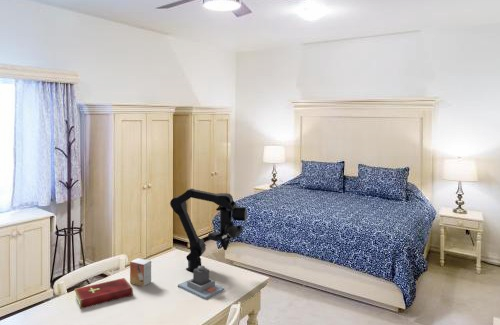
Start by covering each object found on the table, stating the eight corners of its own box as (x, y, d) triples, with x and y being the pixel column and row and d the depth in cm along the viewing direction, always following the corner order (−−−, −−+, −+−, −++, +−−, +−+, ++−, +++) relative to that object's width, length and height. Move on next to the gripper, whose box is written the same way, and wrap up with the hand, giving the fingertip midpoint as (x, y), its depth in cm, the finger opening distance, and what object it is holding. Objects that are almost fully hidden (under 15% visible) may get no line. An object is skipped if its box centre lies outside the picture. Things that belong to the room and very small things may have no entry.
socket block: (178, 286, 171) (178, 279, 171) (197, 278, 180) (197, 271, 180) (205, 299, 160) (205, 291, 159) (224, 290, 169) (224, 282, 168)
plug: (193, 286, 170) (193, 266, 169) (201, 282, 173) (201, 263, 172) (200, 289, 166) (200, 270, 165) (208, 286, 170) (209, 266, 169)
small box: (129, 283, 173) (129, 261, 172) (137, 278, 179) (137, 257, 177) (144, 286, 170) (143, 264, 169) (151, 281, 176) (151, 260, 174)
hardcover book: (132, 296, 162) (132, 287, 161) (80, 309, 150) (80, 299, 149) (124, 286, 172) (124, 277, 171) (74, 297, 159) (74, 288, 159)
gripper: (224, 226, 172) (223, 259, 174) (250, 219, 186) (249, 249, 188) (207, 221, 179) (207, 253, 181) (234, 214, 193) (233, 244, 195)
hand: (225, 249), depth 186 cm, fingers closed
